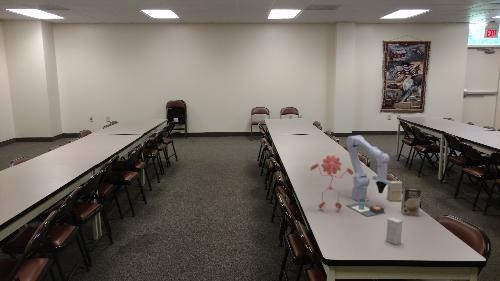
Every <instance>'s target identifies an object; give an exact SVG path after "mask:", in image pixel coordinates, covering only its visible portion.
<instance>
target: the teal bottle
mask: <svg viewBox="0 0 500 281" xmlns="http://www.w3.org/2000/svg"><path fill="white" fill-rule="evenodd" d="M358 203H359V209H364V203H366V201H365V199H359V201H358Z"/></svg>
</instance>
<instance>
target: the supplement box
mask: <svg viewBox="0 0 500 281" xmlns="http://www.w3.org/2000/svg"><path fill="white" fill-rule="evenodd" d="M389 181H390V182H391V185H387V190H386V191H387V192H386V200H387V201H388V202H402V195H403V182H402V181H401V180H389Z"/></svg>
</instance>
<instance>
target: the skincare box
mask: <svg viewBox="0 0 500 281" xmlns="http://www.w3.org/2000/svg"><path fill="white" fill-rule="evenodd" d="M386 223H387V224H386V236H385V237H386V238H385V240H386V241H387V242H389V243H392V244H394V245H398V244H400V243H401V242H402V234H403V220H401V219H398V218H396V217H393V216H392V217H389V218H387V222H386Z"/></svg>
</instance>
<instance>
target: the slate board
mask: <svg viewBox="0 0 500 281" xmlns="http://www.w3.org/2000/svg"><path fill="white" fill-rule="evenodd" d="M345 206H346V207H347V208H349V209H350V210H353V211H354V212H357V213H358V214H360V215H363V216H364V217H366V218H368V217H374V216H379V215H385V214H386V212H385V208H383V207H382V206H379V205H377V206H378V207H380V208H381V209H378V210H376V209H374V208H373V207H374V206H375V205H373V206H372V205H370V204H368V203H366V202H365V203H364V209H359V202H357V203H349V204H345Z"/></svg>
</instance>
